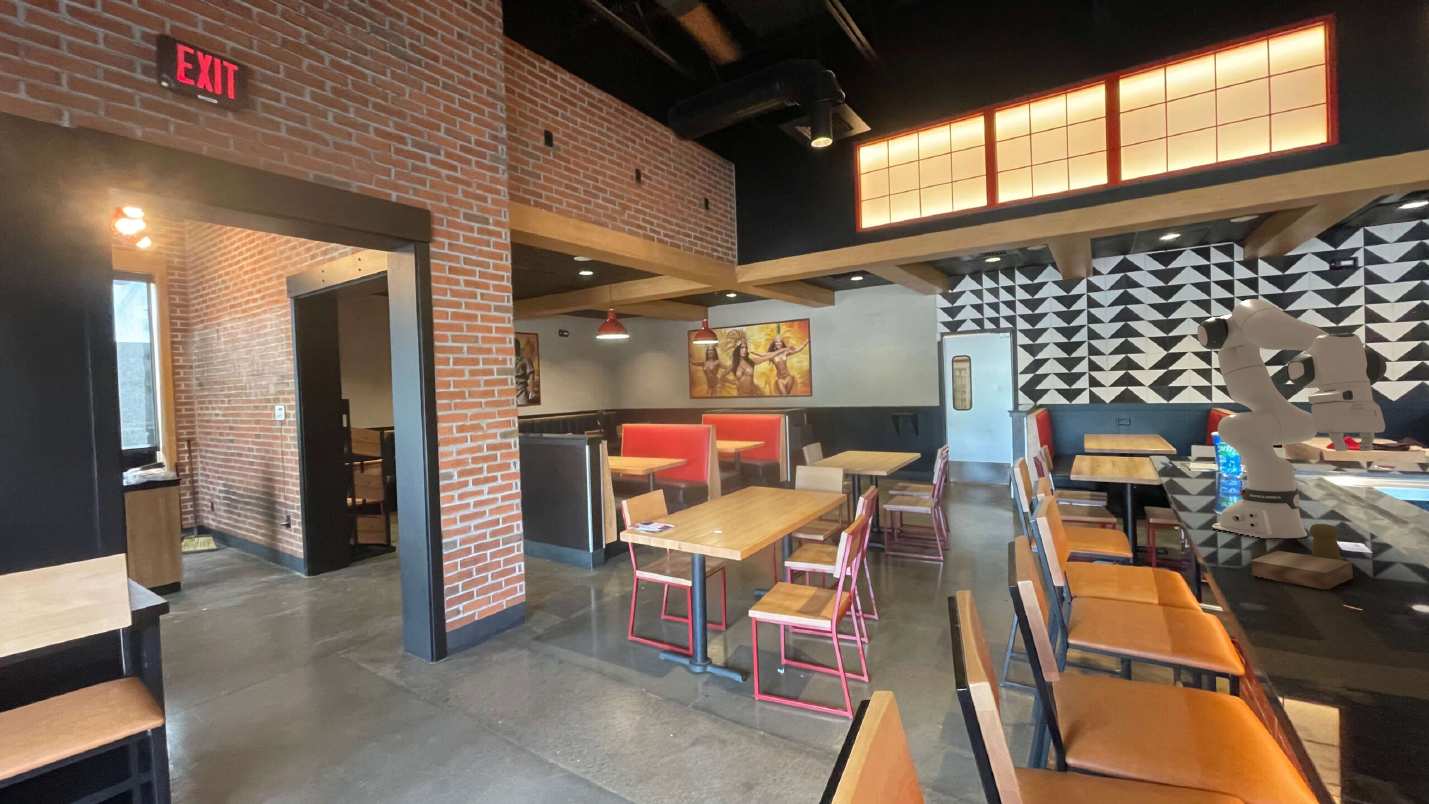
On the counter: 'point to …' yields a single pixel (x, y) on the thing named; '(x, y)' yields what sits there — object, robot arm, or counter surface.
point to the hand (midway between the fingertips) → (1354, 451)
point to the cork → (1325, 541)
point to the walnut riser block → (1302, 569)
